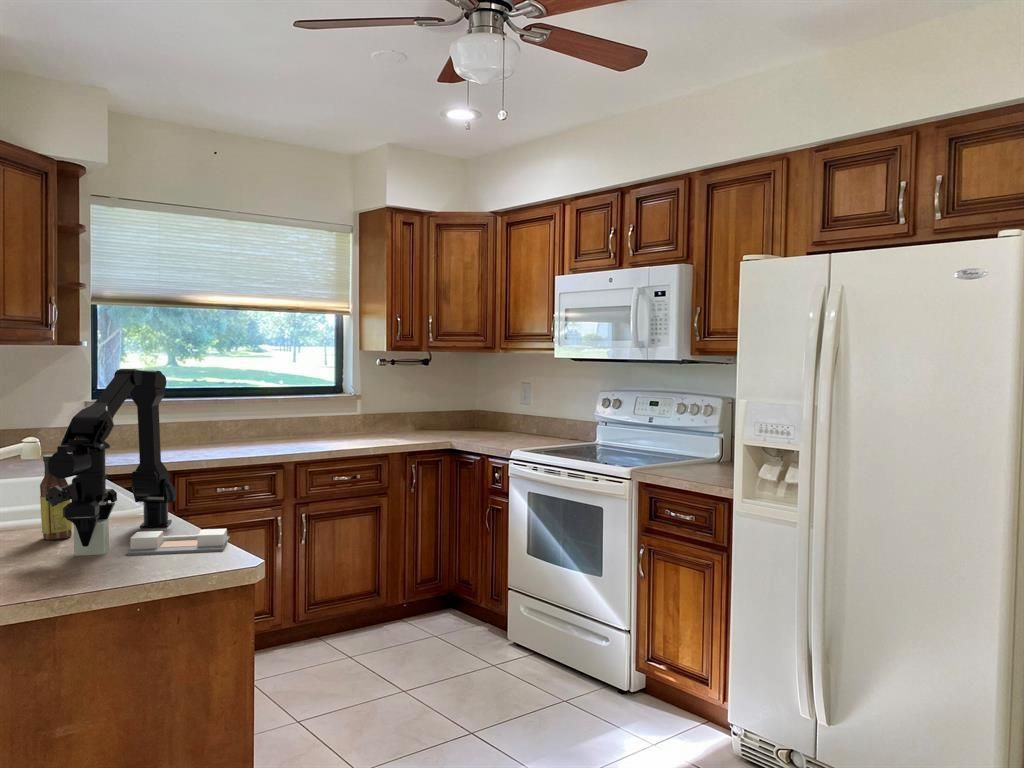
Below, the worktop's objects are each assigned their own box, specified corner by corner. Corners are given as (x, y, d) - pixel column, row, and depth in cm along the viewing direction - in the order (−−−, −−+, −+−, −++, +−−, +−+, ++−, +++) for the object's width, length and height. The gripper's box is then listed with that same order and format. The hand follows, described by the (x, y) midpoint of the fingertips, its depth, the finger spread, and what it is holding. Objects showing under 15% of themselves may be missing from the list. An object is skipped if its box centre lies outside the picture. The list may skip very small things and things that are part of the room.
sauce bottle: (77, 534, 191) (76, 453, 190) (63, 541, 185) (62, 456, 184) (49, 534, 191) (48, 452, 190) (35, 540, 185) (33, 456, 184)
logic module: (79, 551, 176) (79, 519, 176) (109, 549, 178) (108, 518, 177) (74, 555, 173) (73, 523, 172) (104, 554, 174) (103, 522, 174)
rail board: (139, 542, 185) (139, 529, 185) (229, 538, 189) (229, 525, 189) (126, 555, 173) (126, 541, 173) (222, 551, 178) (222, 537, 177)
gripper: (64, 465, 182) (65, 533, 182) (34, 479, 164) (36, 553, 164) (117, 464, 184) (117, 531, 185) (93, 477, 166) (94, 551, 167)
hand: (91, 541), depth 175 cm, fingers open, 9 cm apart
